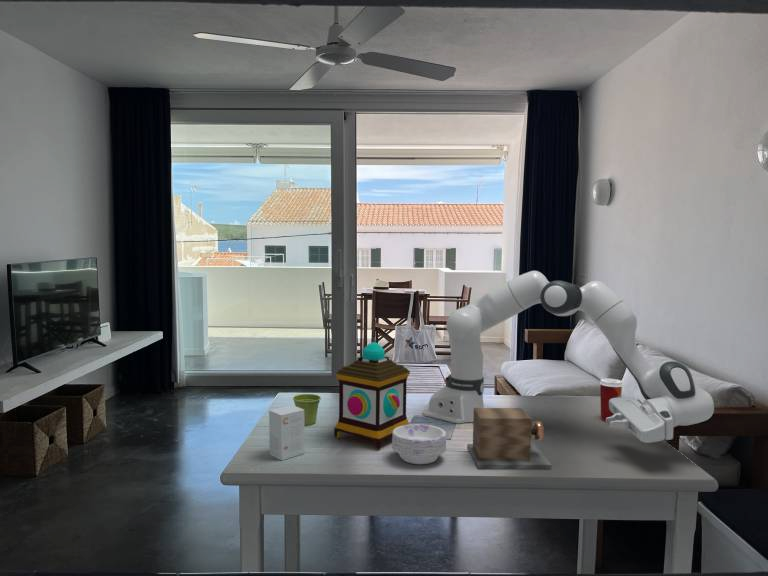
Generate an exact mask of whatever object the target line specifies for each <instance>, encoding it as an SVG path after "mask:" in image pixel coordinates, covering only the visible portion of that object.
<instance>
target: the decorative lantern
mask: <svg viewBox="0 0 768 576" xmlns="http://www.w3.org/2000/svg"><path fill="white" fill-rule="evenodd" d="M410 373H411V371H410V370H409V369H408V368H407V367H405V366H404V365H403V364H399V363H398V364H397V363H396V362H394V361H393V360H392V359H390V357H389V356H386V355H385V349H384V348H383V347H382V346H381V345H380V343H378V342H374V341H373V342H370V343H368V344H367V345H366V346H365V347H364V348H363V350H362V356H359V357H357V360H355V361H354V362H353V363H350V364H348V365H345V366H343V367H342V368H340V369H339V370H338V371H337V372H336V373H335V374H336V375H335V376H336V378H337V379H338V383H339V385H338V387H339V389H338V392H339V393H338V396H339V397H338V420H337V422H336V425H335V427H334V431H333V433H334V438H335V439H338V438H339V439H340V438H341V433H345V434H349V435H353V436H357V437H360V438H364V439H367V440H372V441H374V443H375V448H376V450H377V451H379V450H380V449H381V448H382V447H381V446H382V443H383V441H384V440H386V439H387V438H390V437H392V432H393V430H394V429H395V428H397V427H399V426H403V425H409V424H410V422H409V420H408V418H407V380H408V377H409V376H410ZM339 439H338V440H339Z"/></svg>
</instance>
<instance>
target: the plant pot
mask: <svg viewBox="0 0 768 576" xmlns="http://www.w3.org/2000/svg"><path fill="white" fill-rule="evenodd" d="M321 399H322V396H320V395H318V394H312V393H301V394H297V395H294V396H293V397H292V400H293V402H294V403H293V404H294V406H296V407H299V408H301V409H304V426H311V425H314V424H316V422H317V415H318V409H319V404H320V401H321Z"/></svg>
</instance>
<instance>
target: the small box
mask: <svg viewBox="0 0 768 576" xmlns="http://www.w3.org/2000/svg"><path fill="white" fill-rule="evenodd" d="M268 419H269V420H268V421H269V422H268V425H269V426H268V428H269V432H268V433H269V434H268V435H269V456H272V457H274V459H275V458H276V459H278V460H279V461H285V460H288V459H291V458H294V457H297V456H302V455H305V452H306V451H305V449H306V448H305V440H306V439H305V425H304V409H301V408H299V407H296V406H295V405H288V406H287V405H286V406H282V407H279V408H275V409H270V410H269V411H268Z"/></svg>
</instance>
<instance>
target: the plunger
mask: <svg viewBox="0 0 768 576" xmlns="http://www.w3.org/2000/svg"><path fill="white" fill-rule="evenodd" d="M531 436H532V438H533V439H534V440H535V441H536V440H539V441H540V440H543V439H544V437H545V427H544V423H543V422H542V421H540V420H539V421H535V420H534V421H532V422H531Z"/></svg>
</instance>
